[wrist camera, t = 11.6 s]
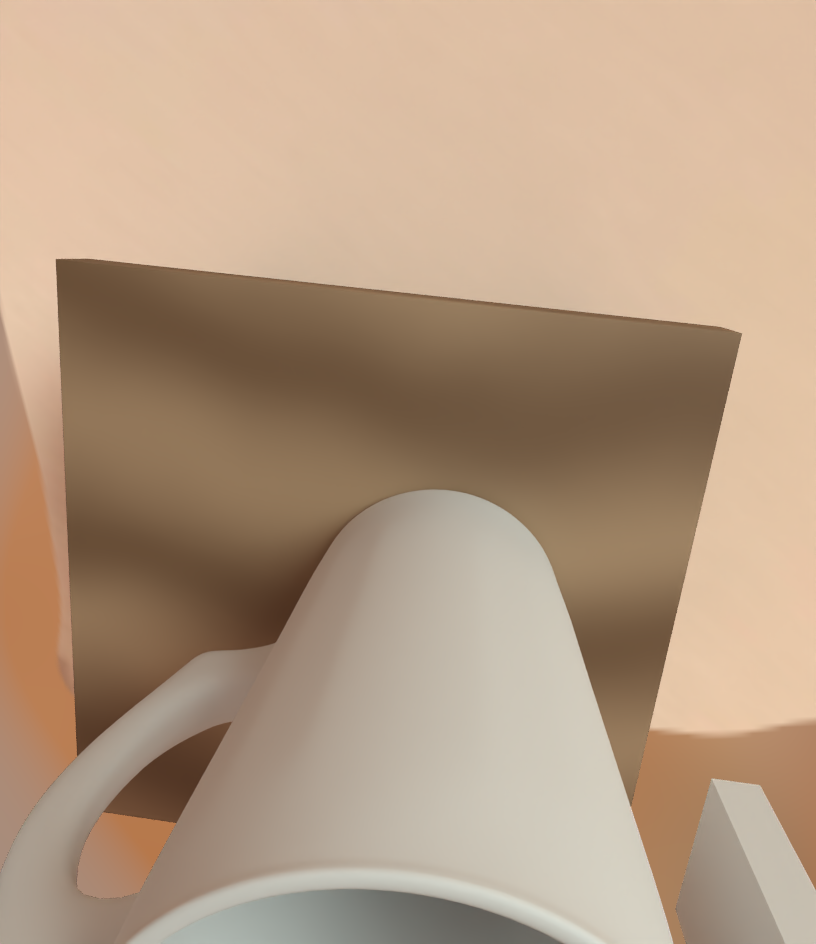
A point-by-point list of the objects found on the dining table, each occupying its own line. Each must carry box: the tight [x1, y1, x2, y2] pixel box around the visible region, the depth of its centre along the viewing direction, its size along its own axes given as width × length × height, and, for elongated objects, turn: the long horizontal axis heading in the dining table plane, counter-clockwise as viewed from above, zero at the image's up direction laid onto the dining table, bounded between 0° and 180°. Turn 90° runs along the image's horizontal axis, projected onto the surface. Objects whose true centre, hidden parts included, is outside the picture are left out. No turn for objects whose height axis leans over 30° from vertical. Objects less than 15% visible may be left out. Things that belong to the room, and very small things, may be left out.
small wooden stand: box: [56, 259, 742, 823], centre depth 24 cm, size 16×16×10 cm
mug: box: [0, 489, 673, 944], centre depth 13 cm, size 10×7×12 cm, turn 96°
